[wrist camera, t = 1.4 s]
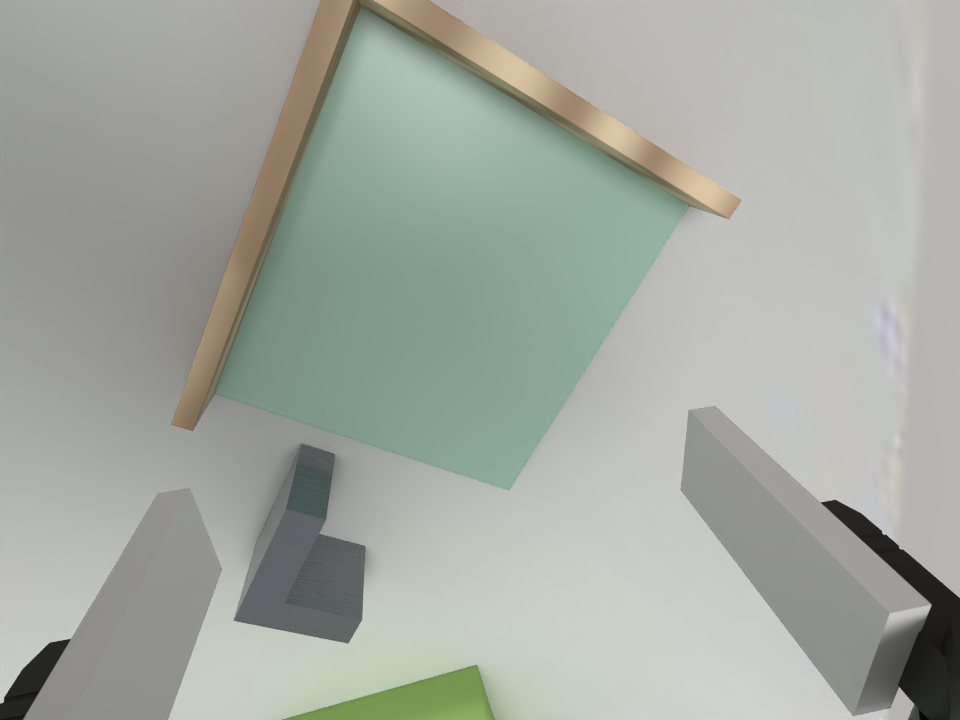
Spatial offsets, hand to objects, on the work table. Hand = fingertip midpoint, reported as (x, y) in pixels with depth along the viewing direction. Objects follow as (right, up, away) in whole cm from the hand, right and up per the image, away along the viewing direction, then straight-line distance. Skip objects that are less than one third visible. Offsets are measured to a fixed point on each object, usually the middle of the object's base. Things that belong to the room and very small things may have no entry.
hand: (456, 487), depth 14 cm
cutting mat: (-2, +8, +21) cm, 23 cm away
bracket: (-11, -8, +27) cm, 31 cm away
